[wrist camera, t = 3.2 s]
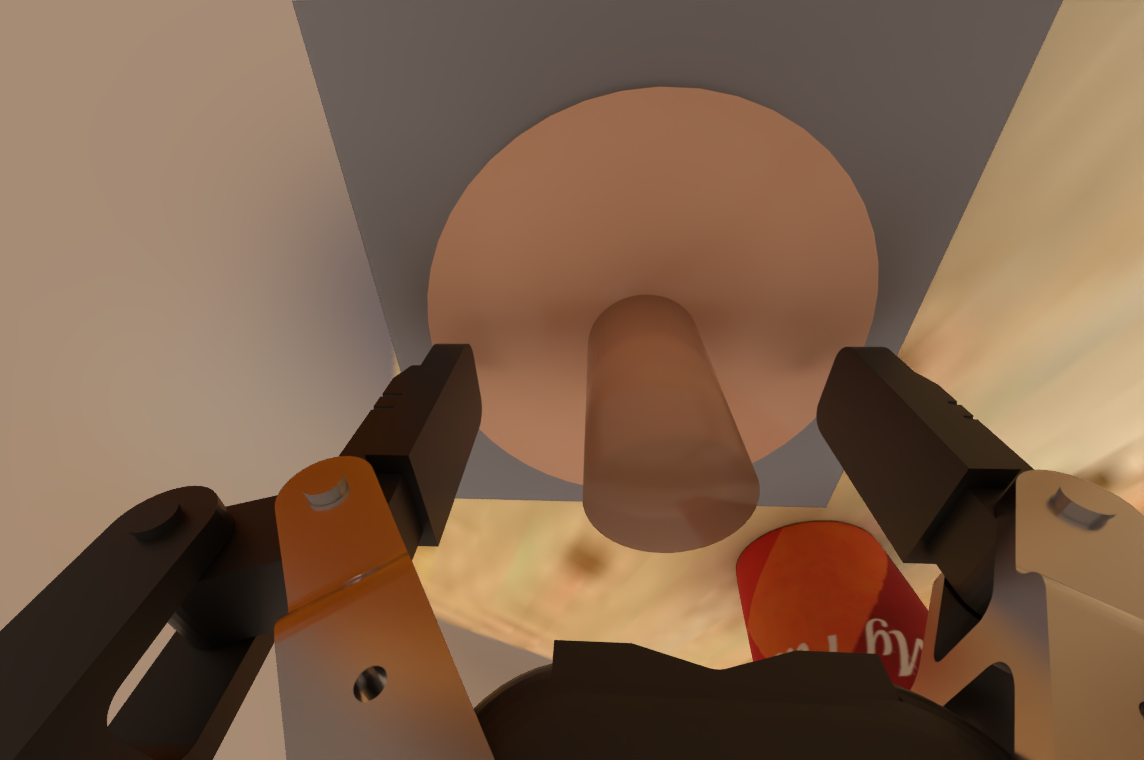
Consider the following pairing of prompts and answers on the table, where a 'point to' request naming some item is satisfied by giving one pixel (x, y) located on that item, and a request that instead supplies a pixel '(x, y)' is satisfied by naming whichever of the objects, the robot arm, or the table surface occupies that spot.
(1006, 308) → the table surface
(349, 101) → the mat
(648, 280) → the lid
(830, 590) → the coffee cup
